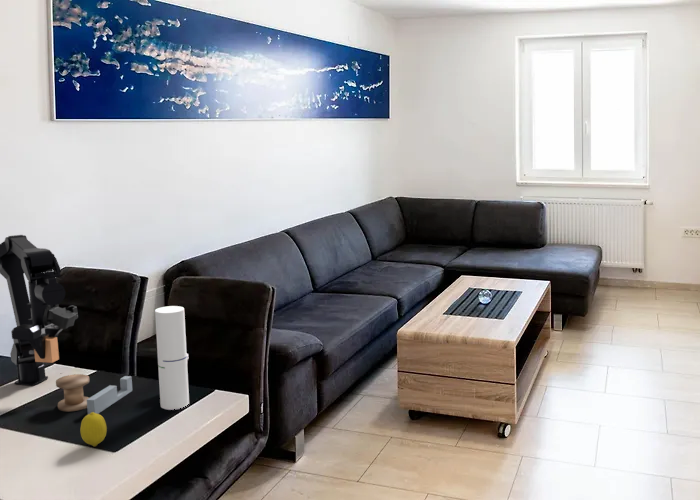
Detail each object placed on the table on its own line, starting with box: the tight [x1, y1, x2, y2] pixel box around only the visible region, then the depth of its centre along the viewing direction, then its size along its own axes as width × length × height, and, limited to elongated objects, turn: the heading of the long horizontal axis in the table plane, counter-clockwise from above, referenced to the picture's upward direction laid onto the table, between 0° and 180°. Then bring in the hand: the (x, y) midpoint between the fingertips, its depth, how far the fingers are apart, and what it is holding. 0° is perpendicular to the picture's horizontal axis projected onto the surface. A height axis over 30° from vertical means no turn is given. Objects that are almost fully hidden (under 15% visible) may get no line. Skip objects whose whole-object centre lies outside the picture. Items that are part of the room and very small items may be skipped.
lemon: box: [79, 412, 108, 447], centre depth 166 cm, size 6×6×8 cm
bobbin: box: [55, 373, 90, 412], centre depth 191 cm, size 8×8×7 cm
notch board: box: [86, 375, 133, 415], centre depth 193 cm, size 2×18×4 cm, turn 166°
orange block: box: [29, 336, 60, 364], centre depth 196 cm, size 7×3×6 cm, turn 77°
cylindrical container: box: [154, 305, 190, 411], centre depth 189 cm, size 7×7×25 cm
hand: (46, 356), depth 196 cm, fingers closed on orange block, 3 cm apart
